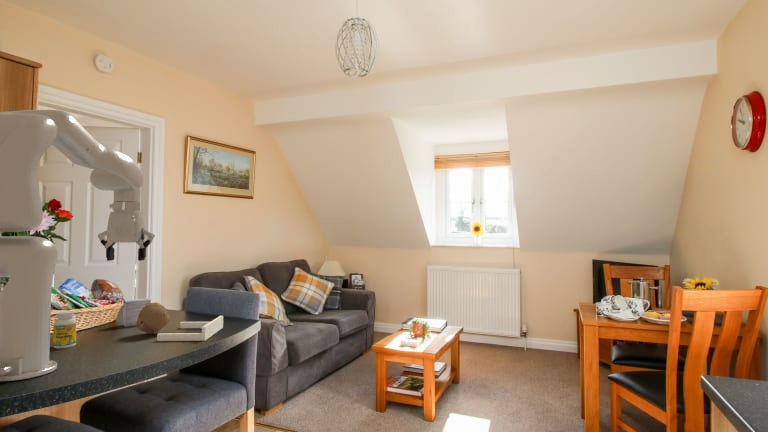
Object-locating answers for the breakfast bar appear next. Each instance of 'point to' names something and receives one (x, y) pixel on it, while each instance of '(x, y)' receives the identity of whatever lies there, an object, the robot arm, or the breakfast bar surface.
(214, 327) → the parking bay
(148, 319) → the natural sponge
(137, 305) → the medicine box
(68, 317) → the supplement bottle
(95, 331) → the breakfast bar surface
